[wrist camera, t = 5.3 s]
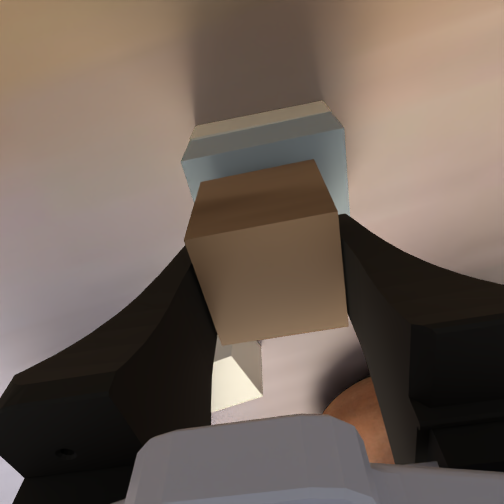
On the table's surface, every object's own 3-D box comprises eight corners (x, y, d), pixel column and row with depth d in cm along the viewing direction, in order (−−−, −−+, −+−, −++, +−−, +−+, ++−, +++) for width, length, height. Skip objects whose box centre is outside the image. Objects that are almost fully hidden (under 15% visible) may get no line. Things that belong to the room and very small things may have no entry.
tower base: (330, 211, 20) (340, 234, 18) (224, 230, 21) (222, 254, 19) (321, 98, 17) (331, 110, 15) (196, 123, 18) (189, 138, 16)
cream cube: (261, 346, 26) (262, 396, 22) (211, 363, 27) (205, 414, 23) (233, 307, 24) (231, 355, 20) (181, 328, 25) (170, 377, 21)
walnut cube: (325, 255, 15) (348, 326, 11) (227, 272, 15) (222, 345, 12) (313, 158, 13) (337, 211, 9) (200, 182, 13) (183, 240, 10)
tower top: (340, 235, 18) (353, 264, 16) (223, 255, 19) (220, 286, 17) (330, 111, 15) (344, 127, 13) (189, 141, 16) (180, 161, 14)
